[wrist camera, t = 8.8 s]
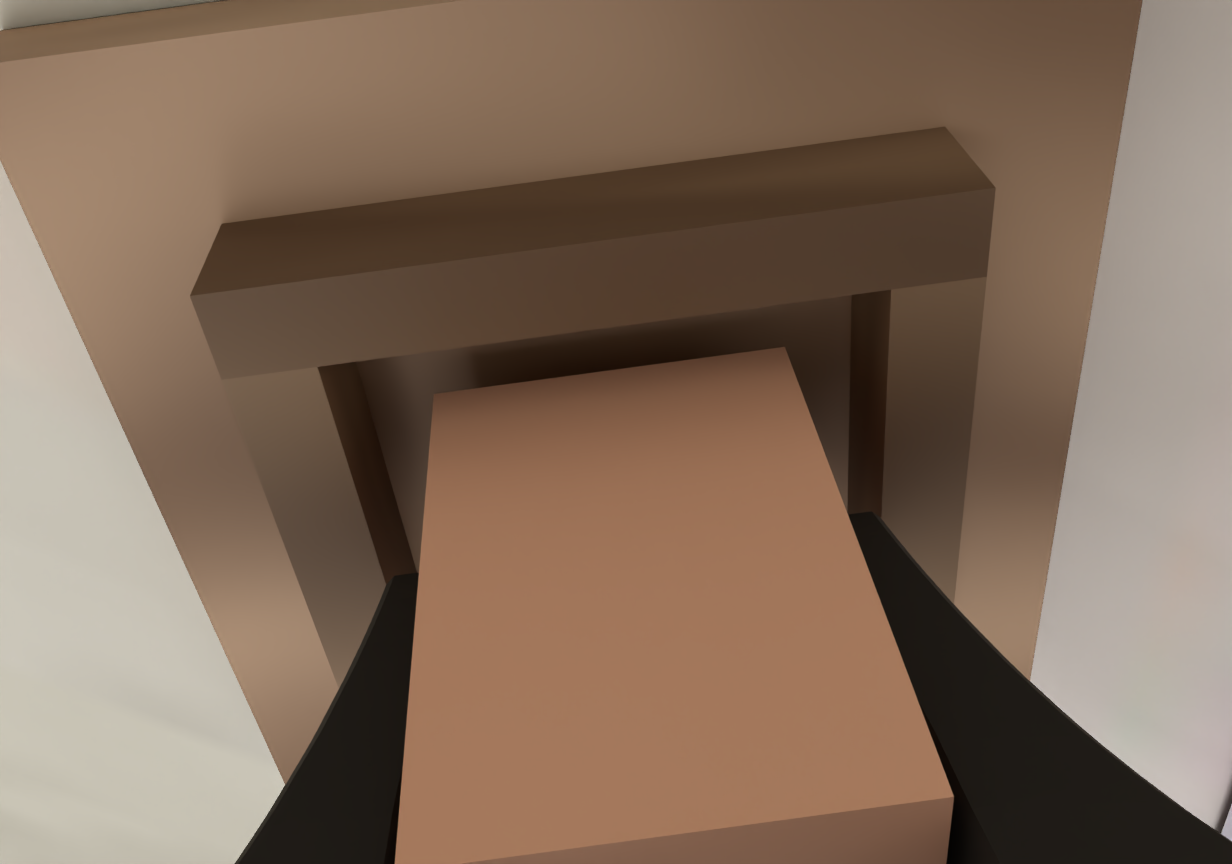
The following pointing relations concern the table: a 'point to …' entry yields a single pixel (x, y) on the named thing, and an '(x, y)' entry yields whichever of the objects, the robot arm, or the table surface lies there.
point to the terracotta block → (654, 635)
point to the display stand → (566, 261)
